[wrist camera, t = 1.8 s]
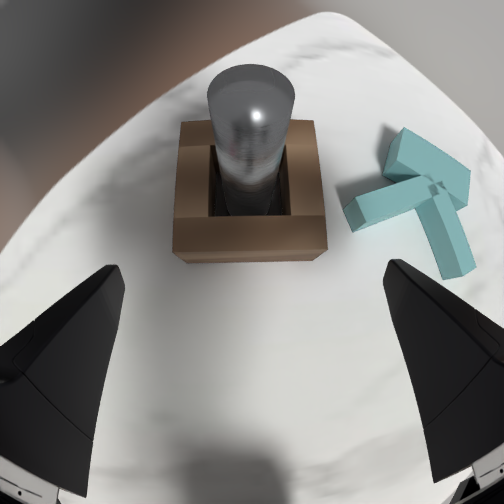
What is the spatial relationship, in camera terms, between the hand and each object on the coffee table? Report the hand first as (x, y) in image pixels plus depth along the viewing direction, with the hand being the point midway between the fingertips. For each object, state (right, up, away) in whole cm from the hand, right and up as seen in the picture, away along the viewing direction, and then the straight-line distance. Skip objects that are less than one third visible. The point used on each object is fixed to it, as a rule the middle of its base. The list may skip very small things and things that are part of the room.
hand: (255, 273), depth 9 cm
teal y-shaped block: (+15, +5, +14) cm, 21 cm away
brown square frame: (0, +5, +14) cm, 15 cm away
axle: (0, +5, +14) cm, 15 cm away
